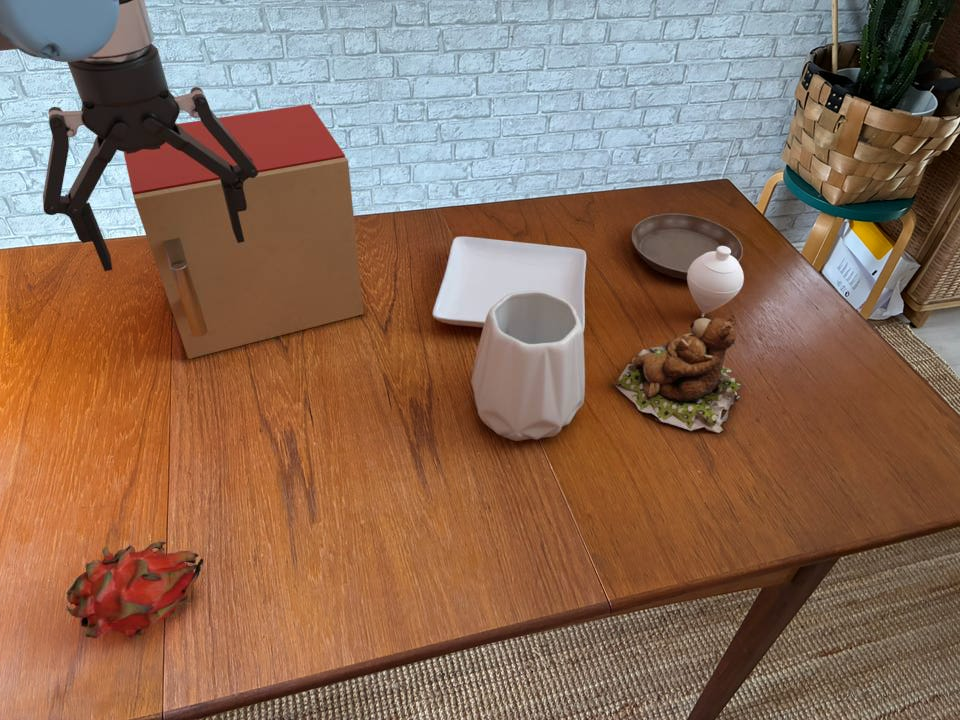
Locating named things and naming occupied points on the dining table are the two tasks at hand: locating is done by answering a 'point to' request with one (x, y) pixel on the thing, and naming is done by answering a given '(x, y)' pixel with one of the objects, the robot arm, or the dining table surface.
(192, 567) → the dragon fruit
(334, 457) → the dining table surface
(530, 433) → the vase
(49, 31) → the robot arm
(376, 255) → the dining table surface
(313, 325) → the cabinet door
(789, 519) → the dining table surface
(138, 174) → the cabinet
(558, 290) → the plate
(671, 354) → the bear figurine
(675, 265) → the plant saucer
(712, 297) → the spinning top
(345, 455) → the dining table surface
